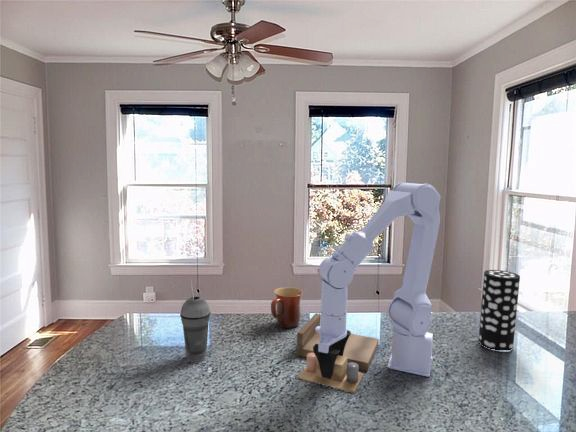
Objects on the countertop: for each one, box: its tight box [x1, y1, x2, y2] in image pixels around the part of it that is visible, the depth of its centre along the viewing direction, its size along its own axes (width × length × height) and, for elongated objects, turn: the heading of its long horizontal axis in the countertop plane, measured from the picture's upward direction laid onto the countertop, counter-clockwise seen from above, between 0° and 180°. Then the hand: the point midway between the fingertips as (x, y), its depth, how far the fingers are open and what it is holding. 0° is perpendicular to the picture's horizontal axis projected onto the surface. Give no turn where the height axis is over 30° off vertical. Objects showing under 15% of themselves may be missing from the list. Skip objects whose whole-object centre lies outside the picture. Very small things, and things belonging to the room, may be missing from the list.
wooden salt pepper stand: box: [298, 353, 365, 394], centre depth 87 cm, size 13×8×5 cm, turn 64°
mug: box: [270, 286, 304, 329], centre depth 114 cm, size 12×9×10 cm
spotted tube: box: [477, 269, 521, 350], centre depth 103 cm, size 8×8×20 cm
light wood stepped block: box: [296, 313, 380, 372], centre depth 99 cm, size 18×14×6 cm
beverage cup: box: [179, 278, 212, 364], centre depth 93 cm, size 7×7×20 cm
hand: (331, 368), depth 87 cm, fingers open, 7 cm apart
